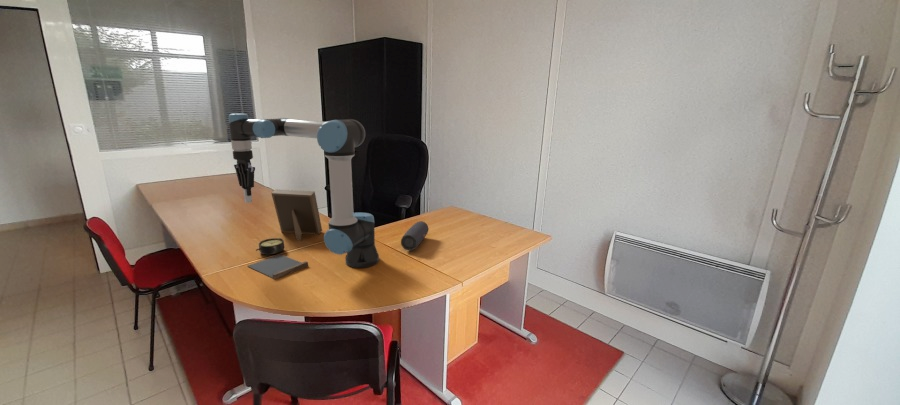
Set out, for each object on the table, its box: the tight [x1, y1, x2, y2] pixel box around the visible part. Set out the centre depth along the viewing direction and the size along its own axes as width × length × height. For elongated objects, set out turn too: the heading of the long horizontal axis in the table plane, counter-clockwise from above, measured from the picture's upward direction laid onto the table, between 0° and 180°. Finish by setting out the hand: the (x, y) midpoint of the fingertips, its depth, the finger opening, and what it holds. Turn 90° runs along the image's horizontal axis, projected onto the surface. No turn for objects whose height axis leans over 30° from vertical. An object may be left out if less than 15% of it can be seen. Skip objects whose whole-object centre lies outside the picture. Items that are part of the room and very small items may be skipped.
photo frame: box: [271, 188, 323, 241], centre depth 199 cm, size 15×22×25 cm
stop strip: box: [272, 260, 309, 280], centre depth 159 cm, size 2×16×2 cm, turn 147°
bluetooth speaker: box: [400, 220, 430, 251], centre depth 193 cm, size 23×9×10 cm, turn 168°
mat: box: [247, 254, 302, 279], centre depth 165 cm, size 20×16×1 cm
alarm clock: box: [255, 237, 285, 258], centre depth 181 cm, size 11×5×16 cm
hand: (248, 202), depth 167 cm, fingers closed
